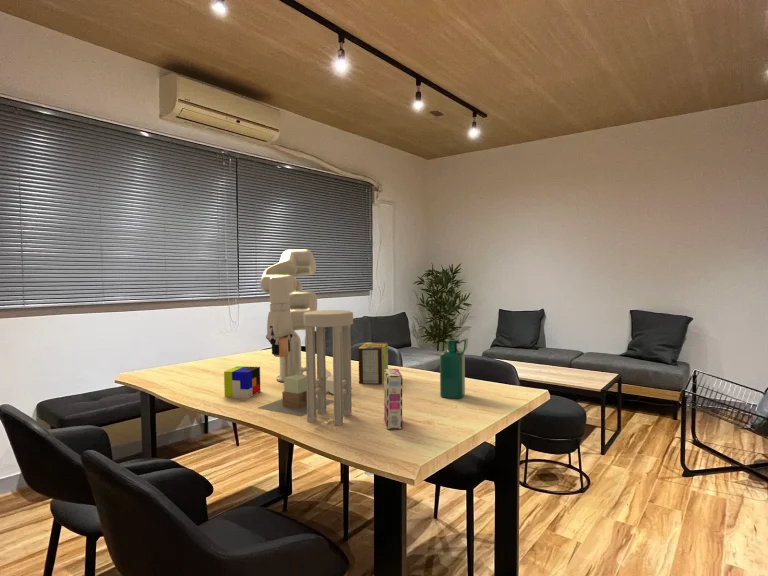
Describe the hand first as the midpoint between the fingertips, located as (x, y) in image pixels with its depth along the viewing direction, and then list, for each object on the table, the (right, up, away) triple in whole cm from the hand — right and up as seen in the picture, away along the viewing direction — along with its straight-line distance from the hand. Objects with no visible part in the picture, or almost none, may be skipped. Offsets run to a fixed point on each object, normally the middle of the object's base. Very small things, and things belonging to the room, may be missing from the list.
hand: (281, 352), depth 182 cm
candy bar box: (+44, -18, -37) cm, 60 cm away
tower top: (+9, -12, -16) cm, 22 cm away
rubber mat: (+10, -17, -16) cm, 25 cm away
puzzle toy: (-15, -17, +1) cm, 23 cm away
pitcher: (+68, -16, -6) cm, 70 cm away
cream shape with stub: (+21, -17, +1) cm, 26 cm away
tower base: (+10, -17, -16) cm, 25 cm away
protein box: (+36, -15, +22) cm, 45 cm away
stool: (+23, -18, -31) cm, 42 cm away
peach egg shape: (0, -1, 0) cm, 1 cm away
